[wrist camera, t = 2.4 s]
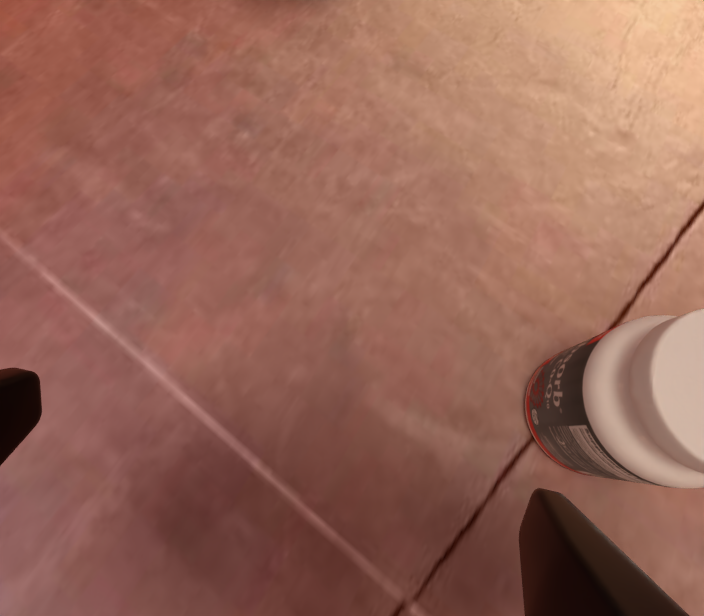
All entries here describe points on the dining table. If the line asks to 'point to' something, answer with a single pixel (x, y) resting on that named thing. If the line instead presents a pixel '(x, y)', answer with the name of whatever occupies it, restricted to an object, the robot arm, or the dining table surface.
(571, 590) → the robot arm
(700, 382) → the pill bottle
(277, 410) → the dining table surface
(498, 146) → the dining table surface
